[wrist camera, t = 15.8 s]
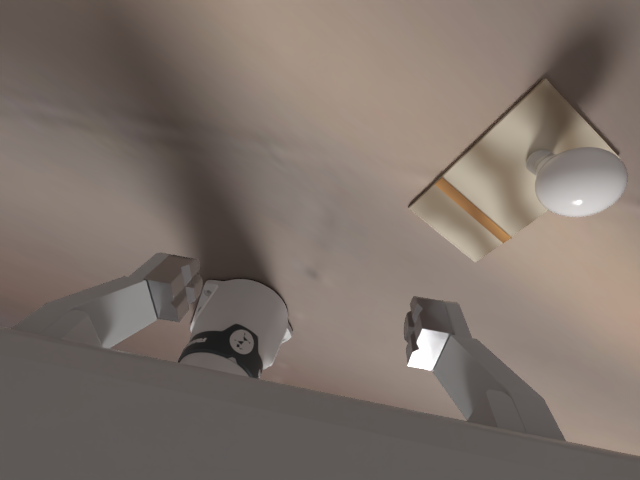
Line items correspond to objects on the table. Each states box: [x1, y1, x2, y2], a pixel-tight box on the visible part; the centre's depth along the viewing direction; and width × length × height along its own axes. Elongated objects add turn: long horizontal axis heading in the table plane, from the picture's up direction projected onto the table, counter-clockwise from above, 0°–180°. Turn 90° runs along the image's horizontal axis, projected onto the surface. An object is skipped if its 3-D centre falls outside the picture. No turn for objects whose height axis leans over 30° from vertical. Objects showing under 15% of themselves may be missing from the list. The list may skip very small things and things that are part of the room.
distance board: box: [409, 78, 620, 262], centre depth 35 cm, size 19×13×1 cm
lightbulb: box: [526, 147, 628, 217], centre depth 29 cm, size 6×6×11 cm
